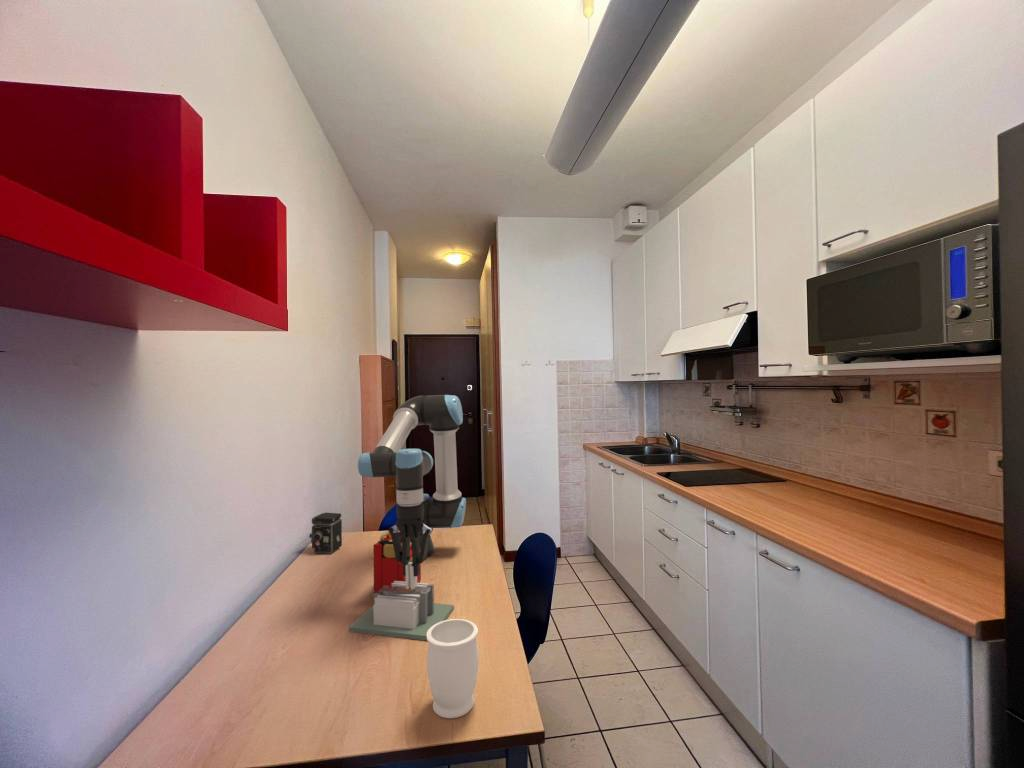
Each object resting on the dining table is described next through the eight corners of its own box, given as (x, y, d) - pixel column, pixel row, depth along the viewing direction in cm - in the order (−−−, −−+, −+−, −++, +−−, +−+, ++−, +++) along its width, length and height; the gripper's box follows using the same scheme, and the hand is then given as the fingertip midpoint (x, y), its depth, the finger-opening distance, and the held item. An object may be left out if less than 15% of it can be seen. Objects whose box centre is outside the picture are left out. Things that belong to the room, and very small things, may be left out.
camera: (320, 546, 185) (320, 511, 185) (343, 547, 184) (343, 511, 184) (305, 555, 175) (305, 518, 175) (330, 556, 173) (329, 518, 174)
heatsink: (348, 631, 117) (348, 596, 117) (381, 602, 133) (381, 571, 134) (430, 641, 111) (430, 604, 112) (454, 609, 128) (453, 577, 128)
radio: (402, 604, 131) (401, 539, 132) (372, 602, 134) (371, 537, 134) (422, 582, 147) (422, 523, 148) (395, 580, 149) (395, 522, 150)
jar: (434, 730, 82) (433, 650, 82) (422, 696, 91) (421, 624, 91) (486, 713, 86) (485, 637, 86) (470, 682, 95) (469, 613, 96)
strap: (376, 597, 123) (376, 590, 123) (382, 592, 126) (382, 584, 126) (426, 598, 119) (425, 590, 119) (431, 592, 123) (430, 584, 123)
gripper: (381, 506, 121) (382, 591, 120) (426, 507, 118) (428, 594, 117) (394, 499, 128) (395, 580, 127) (437, 500, 125) (439, 583, 124)
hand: (411, 587), depth 122 cm, fingers closed, pressing on strap
